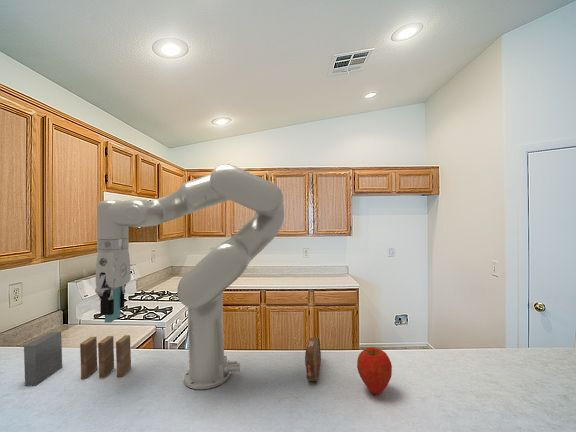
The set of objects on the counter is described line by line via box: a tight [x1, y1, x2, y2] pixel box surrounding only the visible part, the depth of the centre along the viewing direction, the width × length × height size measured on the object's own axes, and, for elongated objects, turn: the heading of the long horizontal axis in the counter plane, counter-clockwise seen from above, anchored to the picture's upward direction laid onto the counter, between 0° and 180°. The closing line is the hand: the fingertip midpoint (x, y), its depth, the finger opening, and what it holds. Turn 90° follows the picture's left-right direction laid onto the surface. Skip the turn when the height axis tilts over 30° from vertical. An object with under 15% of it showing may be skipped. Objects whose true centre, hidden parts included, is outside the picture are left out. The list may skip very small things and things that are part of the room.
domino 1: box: [79, 336, 98, 380], centre depth 88 cm, size 2×5×10 cm, turn 2°
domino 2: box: [104, 286, 121, 324], centre depth 83 cm, size 2×5×10 cm, turn 3°
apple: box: [356, 347, 393, 395], centre depth 75 cm, size 9×8×11 cm
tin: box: [304, 336, 322, 382], centre depth 85 cm, size 15×3×8 cm, turn 168°
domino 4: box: [115, 334, 132, 378], centre depth 88 cm, size 2×5×10 cm, turn 2°
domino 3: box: [97, 335, 115, 379], centre depth 88 cm, size 2×5×10 cm, turn 2°
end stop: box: [23, 331, 63, 387], centre depth 88 cm, size 3×10×11 cm, turn 2°
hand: (112, 310), depth 83 cm, fingers closed on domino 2, 4 cm apart
